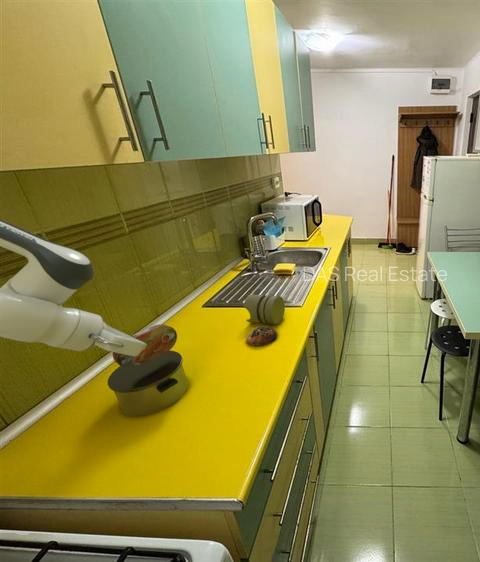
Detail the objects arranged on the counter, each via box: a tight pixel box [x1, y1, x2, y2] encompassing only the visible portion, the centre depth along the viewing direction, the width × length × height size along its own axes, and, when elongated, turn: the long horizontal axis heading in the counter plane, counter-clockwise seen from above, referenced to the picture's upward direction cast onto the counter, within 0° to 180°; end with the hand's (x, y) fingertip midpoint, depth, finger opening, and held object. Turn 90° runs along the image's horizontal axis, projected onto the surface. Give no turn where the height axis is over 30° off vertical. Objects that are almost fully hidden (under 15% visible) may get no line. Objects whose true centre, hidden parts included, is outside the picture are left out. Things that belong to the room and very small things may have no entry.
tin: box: [112, 323, 178, 369], centre depth 83 cm, size 15×3×8 cm, turn 152°
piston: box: [242, 294, 286, 325], centre depth 123 cm, size 11×12×11 cm
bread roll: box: [245, 325, 278, 347], centre depth 113 cm, size 11×11×5 cm
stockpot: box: [106, 349, 189, 417], centre depth 86 cm, size 19×17×9 cm
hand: (140, 344), depth 82 cm, fingers closed on tin, 2 cm apart
